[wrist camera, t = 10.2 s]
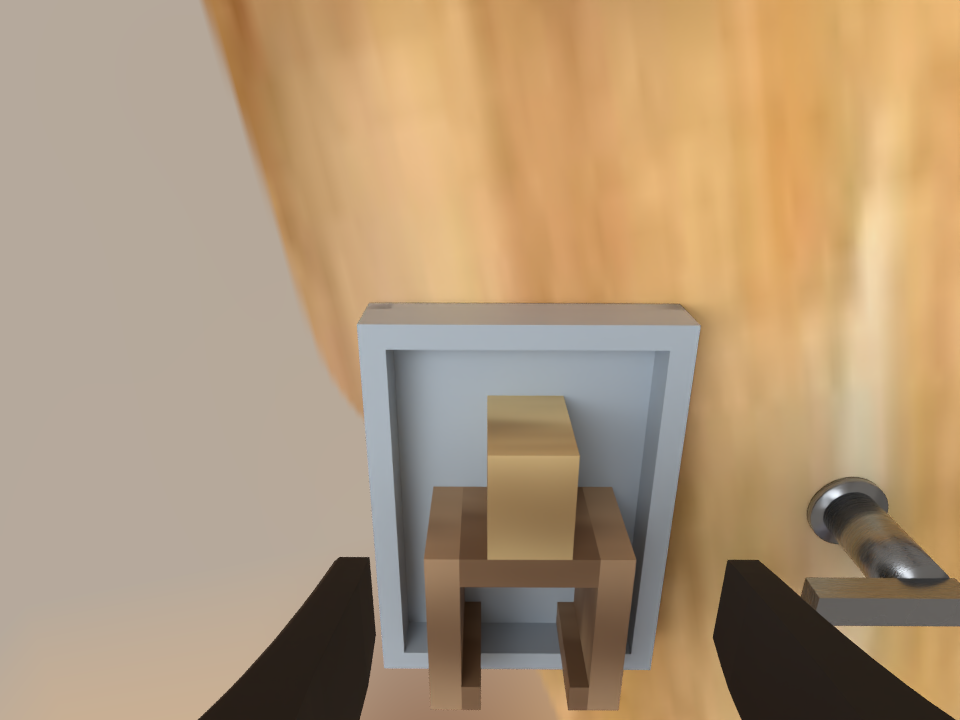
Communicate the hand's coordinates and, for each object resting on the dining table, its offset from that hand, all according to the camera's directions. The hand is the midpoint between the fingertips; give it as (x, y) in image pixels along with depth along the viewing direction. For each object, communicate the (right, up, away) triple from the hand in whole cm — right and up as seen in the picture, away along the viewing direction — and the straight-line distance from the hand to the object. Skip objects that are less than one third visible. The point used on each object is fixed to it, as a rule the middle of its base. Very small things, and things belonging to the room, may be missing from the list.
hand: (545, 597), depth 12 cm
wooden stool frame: (0, -1, +9) cm, 9 cm away
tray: (0, 0, +9) cm, 9 cm away
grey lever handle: (+10, 0, +9) cm, 14 cm away
